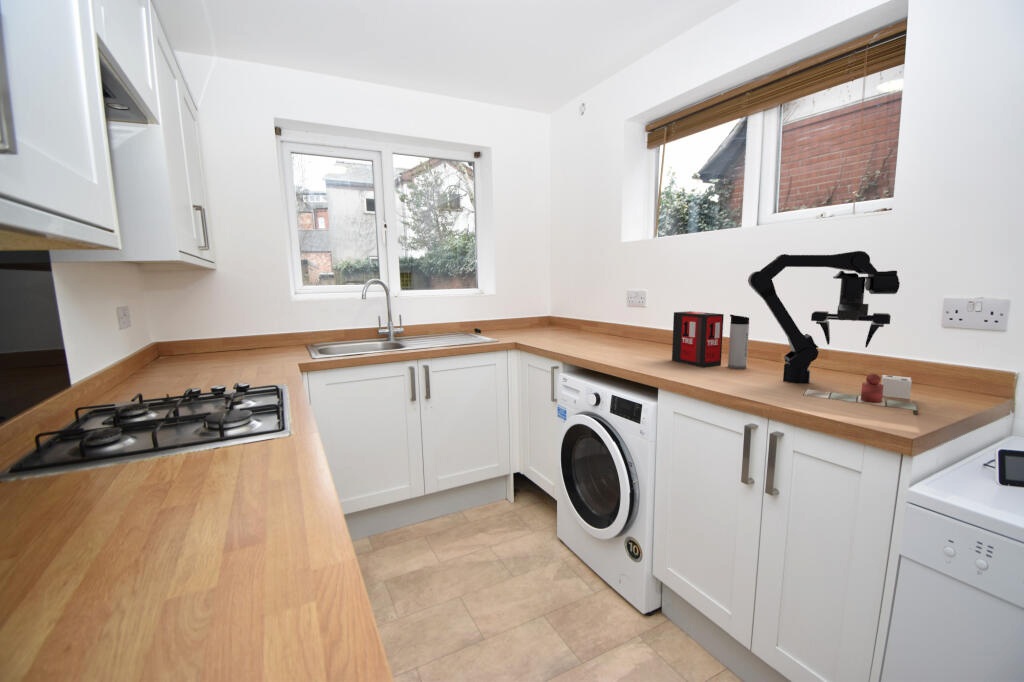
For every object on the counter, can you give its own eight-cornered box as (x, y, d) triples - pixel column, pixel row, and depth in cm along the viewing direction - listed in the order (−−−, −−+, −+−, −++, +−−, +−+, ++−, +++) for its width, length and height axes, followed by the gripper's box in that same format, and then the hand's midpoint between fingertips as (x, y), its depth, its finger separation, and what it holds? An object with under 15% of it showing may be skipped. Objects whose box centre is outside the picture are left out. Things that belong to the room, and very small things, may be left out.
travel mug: (724, 365, 172) (727, 314, 169) (742, 365, 171) (746, 314, 168) (730, 369, 166) (733, 315, 163) (749, 369, 165) (752, 315, 162)
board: (802, 399, 125) (802, 395, 124) (806, 392, 131) (806, 388, 131) (917, 414, 109) (917, 410, 109) (915, 406, 116) (915, 402, 116)
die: (880, 399, 123) (882, 378, 123) (880, 395, 128) (882, 374, 127) (909, 403, 120) (911, 381, 119) (908, 398, 124) (910, 377, 123)
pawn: (860, 401, 118) (863, 374, 117) (860, 397, 121) (863, 371, 120) (881, 403, 115) (884, 376, 114) (881, 400, 119) (884, 373, 118)
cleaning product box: (720, 365, 172) (723, 314, 169) (703, 367, 168) (706, 315, 165) (688, 358, 187) (690, 311, 184) (671, 360, 183) (673, 312, 180)
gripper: (810, 294, 132) (806, 346, 135) (893, 295, 120) (886, 352, 123) (815, 293, 141) (811, 342, 143) (892, 294, 129) (887, 347, 131)
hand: (846, 345), depth 135 cm, fingers open, 9 cm apart
